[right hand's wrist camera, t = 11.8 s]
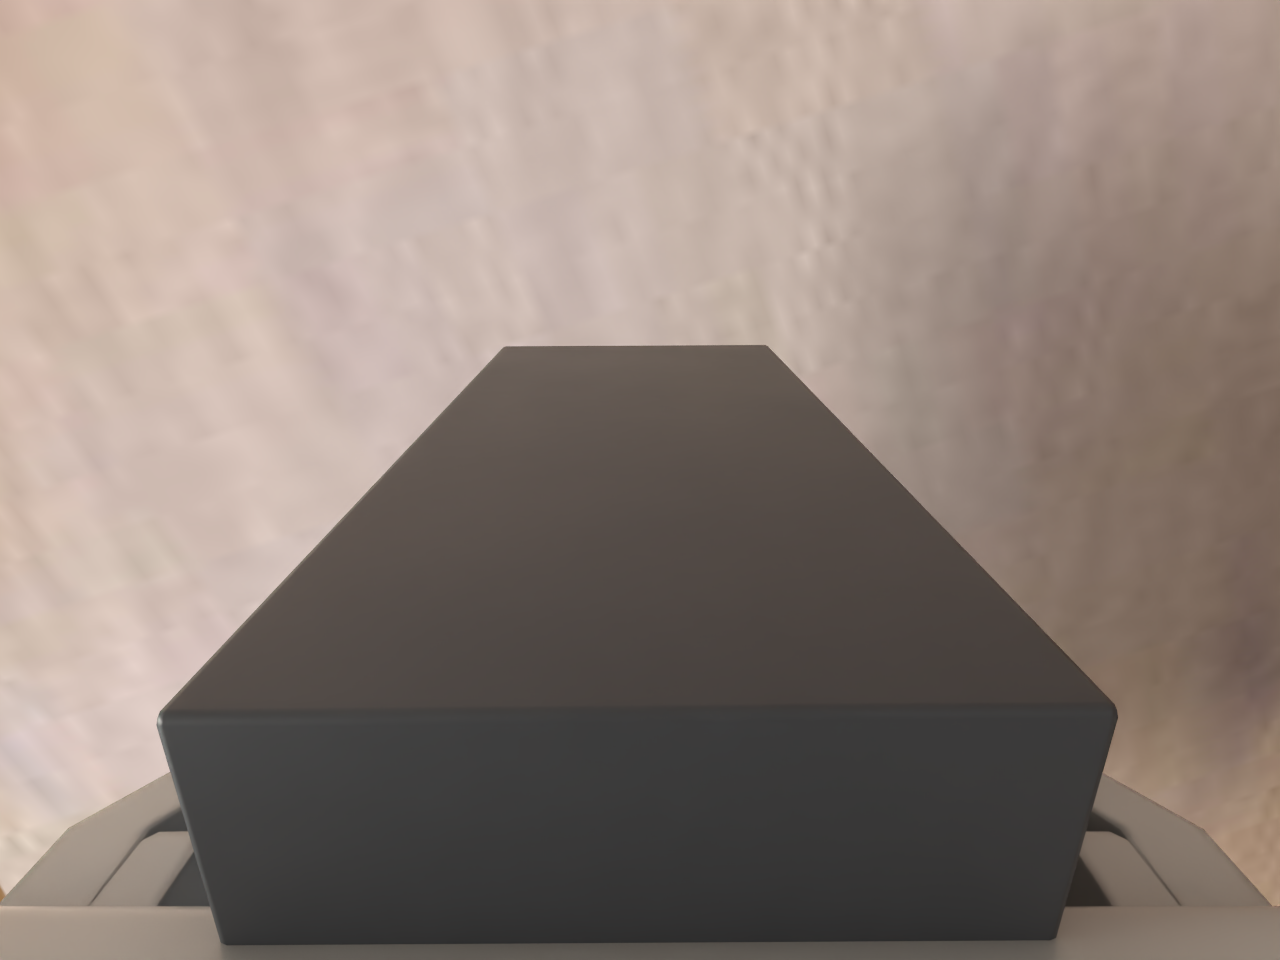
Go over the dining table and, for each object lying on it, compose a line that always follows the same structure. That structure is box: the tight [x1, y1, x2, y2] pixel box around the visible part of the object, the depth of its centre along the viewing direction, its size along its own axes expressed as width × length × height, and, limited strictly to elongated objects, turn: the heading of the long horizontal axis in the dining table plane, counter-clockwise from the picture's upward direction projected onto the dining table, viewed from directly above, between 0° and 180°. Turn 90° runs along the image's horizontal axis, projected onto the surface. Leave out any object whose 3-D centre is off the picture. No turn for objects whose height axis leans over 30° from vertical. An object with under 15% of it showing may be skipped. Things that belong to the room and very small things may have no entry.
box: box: [157, 345, 1118, 945], centre depth 14 cm, size 22×6×13 cm, turn 0°
